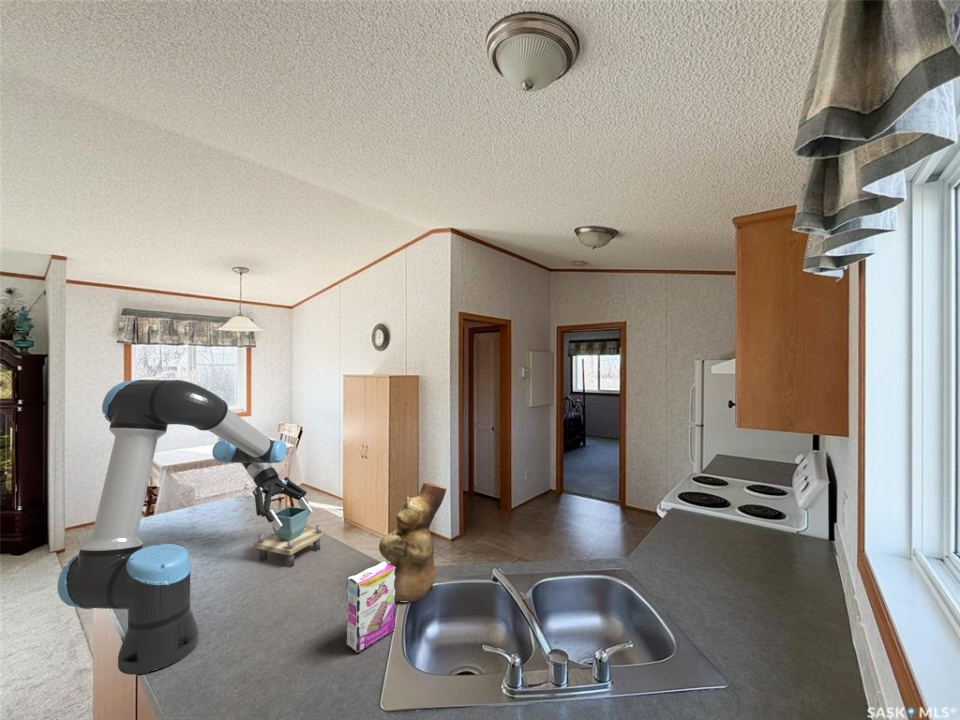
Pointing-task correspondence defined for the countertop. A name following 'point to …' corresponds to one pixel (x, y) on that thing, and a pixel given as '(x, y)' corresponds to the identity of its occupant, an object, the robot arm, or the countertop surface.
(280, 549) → the plant stand
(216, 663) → the countertop surface
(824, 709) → the countertop surface
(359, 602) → the candy bar box
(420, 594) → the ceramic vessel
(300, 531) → the flower pot
